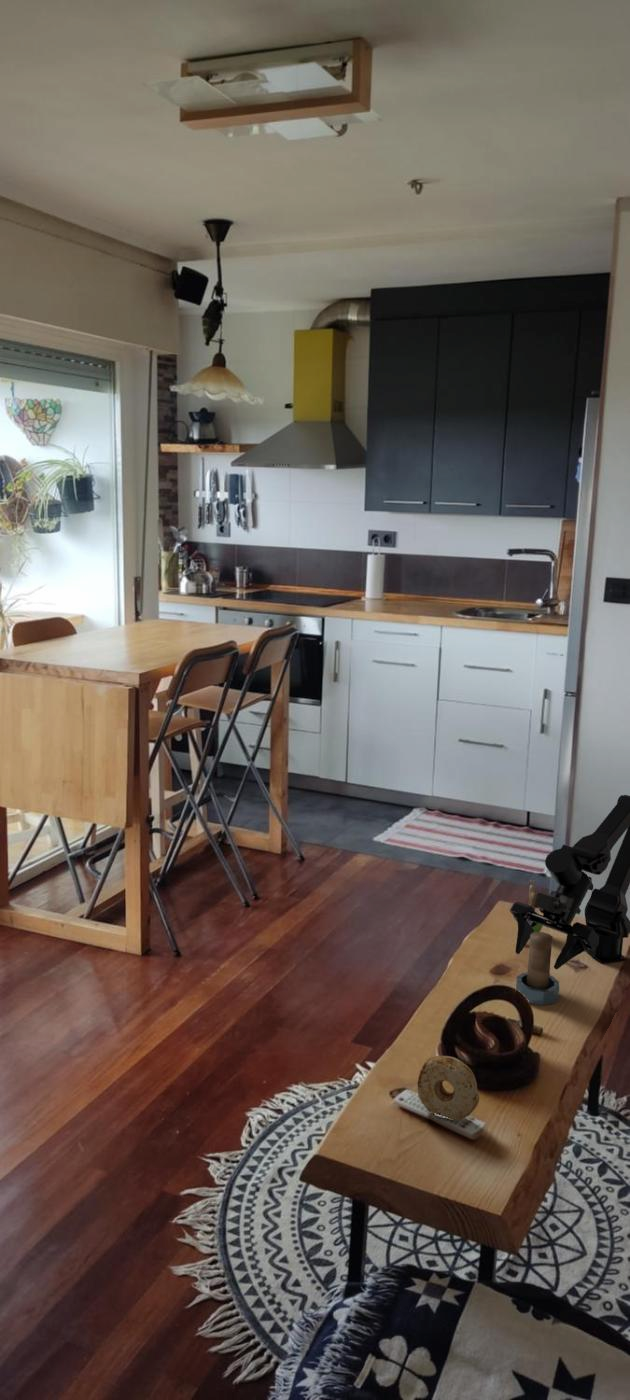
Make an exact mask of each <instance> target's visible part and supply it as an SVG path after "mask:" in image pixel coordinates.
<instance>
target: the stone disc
mask: <svg viewBox="0 0 630 1400" xmlns="http://www.w3.org/2000/svg"><path fill="white" fill-rule="evenodd" d="M417 1079H418V1080H417V1083H416V1084H417V1096H418V1098H419V1100H420V1102H421V1103H422V1105H423V1106H424V1108H425V1109H426V1110H427V1111H428V1112H429V1113H430V1112H431V1113H430V1114H432V1113H436V1114H439V1115H442V1116H445V1117H448V1118H450V1119H453V1120H452V1121H454V1120H457V1121H462V1120H464V1119H466V1118H467V1117H469V1116H470V1115H471V1114H472V1113H474V1111H475V1110H476V1108H477V1107H478V1104H479V1102H480V1095H479V1090H478V1084H477V1079H476V1077H475V1074H474V1072H473V1071H472V1070H471V1068H470V1067H469V1066H468V1065H467V1064H466V1063H464V1062H463V1061H461V1060H460V1059H458V1058H456V1057H454V1056H449V1055H436V1056H431V1057H430V1058H428V1059H426V1060H425V1062H424V1063H423V1065H422V1066H421V1069H420V1071H419V1074H418V1078H417ZM443 1082H447V1083H449V1085H451V1086H452V1087H453V1091H448V1090H446V1089H445V1087H444V1085H443Z"/></svg>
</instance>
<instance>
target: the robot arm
mask: <svg viewBox="0 0 630 1400" xmlns="http://www.w3.org/2000/svg"><path fill="white" fill-rule="evenodd" d="M624 834H625V835H624ZM623 835H624V837H623V838H622V842H621V844H620V847H619V849H618V851H617V854H616V856H615V859H614V861H613V864H612V865H611V869H610V871H609V874H608V877H607V879H606V881H605V883H604V885H603V886H601V887H600V888H599V889H598V888H594V884H593V881H592V877H591V876H588V875H587V873H589V874H593V875H598V876H600V875H601V874H603V873H604V871H606V869H607V868H608V866H609V863H610V861H611V860H612V858H611V857H612V856H611V855H612V854H611V851H612V850H613V848H614V846H615V845H616V844H617V842H618V841H619V840H620V838H621V837H622V836H623ZM544 864H545V867H546V869H547V870H548V871H549V873H550V876H552V878H553V879H554V881H555V882H556V883H557V884H558V886H557V887H556V890H551V891H550V892H549V894H545V893H542V892H539V891H537V892H536V898H535V901H534V904H533V906H534V907H536V909H537V908H539V909H538V910H539V912H540V913H541V914H540V913H538V912H537V911H536V909H535V910H534V909H533V908H532V906H530V905H529V904H527V903H525V902H524V903H523V902H520V901H516V902H514V903H513V904H512V905H511V907H510V909H509V912H510V914H511V915H512V916H513V918H514V920H515V921H516V922H517V937H516V945H515V951H514V952H515V953H516V954H517V955H520V953H521V952H522V951H523V950H524V949H525V947H526V945H527V943H528V942H529V941H530V935H531V933H533V932H534V929H533V928H532V927H534V926H536V924H540V925H543V927H546V928H550V929H551V930H553V931H557V932H560V933H563V934H566V940H565V944H564V945H563V947H562V949H561V951H559V952H560V953H559V954H558V956H557V958H556V960H555V963H554V965H553V968H554V970H558V969H560V968H561V967H563V966H564V965H565V964H567V963H568V962H569V961H570V960H572V959H574V958H575V957H577V956H578V955H580V954H582V953H584V952H585V953H586V954H589V955H590V956H592V957H593V959H595V960H597V961H598V962H599V963H601V964H607V963H613V962H622V961H626V959H627V958H626V956H624V955H623V944H624V939H627V938H629V935H630V919H629V918H628V916H627V914H628V909H629V907H628V904H627V898H626V894H627V892H628V889H629V887H630V795H628V794H621V795H620V796H619V797H618V799H617V802H616V804H615V806H614V807H613V808H612V809H611V810H610V812H609V813H608V814H607V815H606V817H605V818H604V819H603V820H602V822H601V823H600V824H599V825H598V826H597V828H596V829H595V831H593V833H592V834H588V835H586V836H582V837H581V838H580V839H578V841H576V842H575V844H574V845H573V846H569V845H565V844H562V846H561V848H557V849H555V850H553V851H551V852H550V853H548V854H547V855H546V858H545V861H544ZM588 891H592V892H591V894H590V897H589V899H588V902H587V903H586V905H585V907H584V918H585V924H584V923H582V922H581V923H580V922H579V921H576V922H574V923H573V920H574V918H575V916H576V915H580V913H581V911H582V909H581V908H580V907H581V905H582V902H583V900H584V899H585V897H586V896H587V893H588ZM536 912H537V913H538V914H537V913H536ZM542 914H543V915H542ZM572 923H573V925H572ZM621 960H622V961H621Z"/></svg>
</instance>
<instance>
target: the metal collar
mask: <svg viewBox="0 0 630 1400" xmlns="http://www.w3.org/2000/svg"><path fill="white" fill-rule="evenodd" d="M527 974H528V971H527V972H522V973H520V974H518V975H517V976H516V981H515V990H516V989H517V990H519V991H520V992H521V993H522V994H524V995H525V997H526V998H527V999H528V1000H529V1002H530V1003H531V1004H530V1003H529V1004H530V1005H536V1006H548V1005H553V1004H555V1003H557V1001H559V995H560V994H559V993H560V981H559V980H558V979H557V978H555V977H554V976H552V975H550V974H549V985H548V989H535V988H531V987H529V986H527Z"/></svg>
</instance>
